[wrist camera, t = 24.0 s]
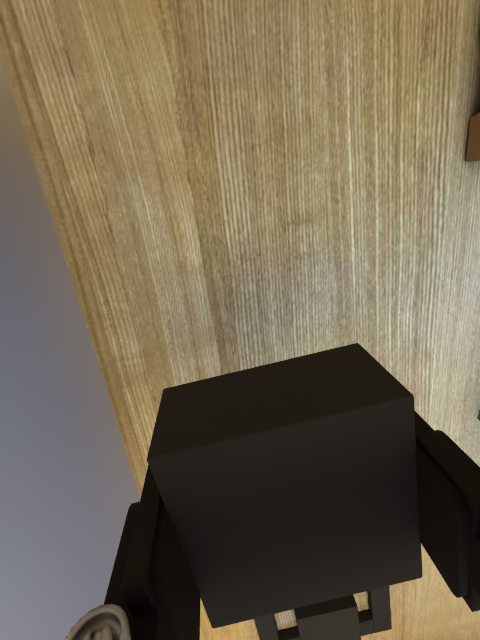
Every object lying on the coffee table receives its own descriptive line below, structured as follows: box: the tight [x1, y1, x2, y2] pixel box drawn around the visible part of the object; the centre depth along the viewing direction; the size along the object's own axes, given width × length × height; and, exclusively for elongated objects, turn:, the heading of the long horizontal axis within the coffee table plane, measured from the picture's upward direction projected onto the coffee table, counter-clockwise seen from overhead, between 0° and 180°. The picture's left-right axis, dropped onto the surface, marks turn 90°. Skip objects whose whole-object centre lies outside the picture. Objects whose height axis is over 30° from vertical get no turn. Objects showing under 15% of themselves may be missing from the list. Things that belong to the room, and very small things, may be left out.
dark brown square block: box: [294, 594, 361, 640], centre depth 35 cm, size 6×6×3 cm
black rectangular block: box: [147, 343, 422, 628], centre depth 10 cm, size 6×6×3 cm
